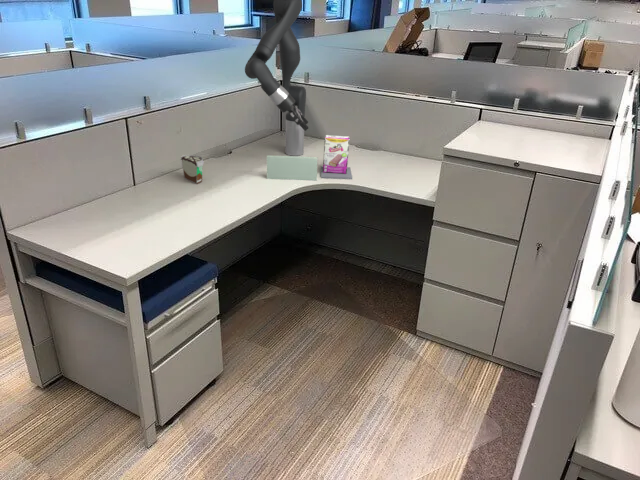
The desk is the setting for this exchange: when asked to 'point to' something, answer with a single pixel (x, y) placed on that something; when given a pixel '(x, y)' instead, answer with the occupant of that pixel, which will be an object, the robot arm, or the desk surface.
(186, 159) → the food container
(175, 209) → the desk surface
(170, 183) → the desk surface
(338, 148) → the candy bar box
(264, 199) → the desk surface
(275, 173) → the screen
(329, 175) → the mat
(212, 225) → the desk surface
